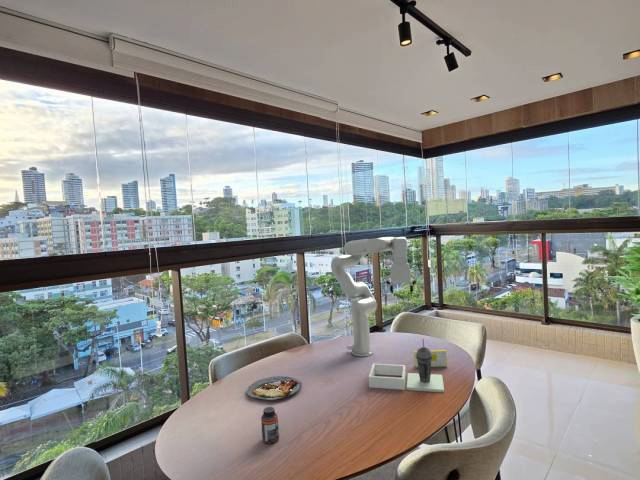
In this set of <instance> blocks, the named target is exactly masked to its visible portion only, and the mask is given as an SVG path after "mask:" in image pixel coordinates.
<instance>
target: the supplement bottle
mask: <svg viewBox="0 0 640 480" xmlns="http://www.w3.org/2000/svg"><path fill="white" fill-rule="evenodd" d="M260 421H261V422H260V423H261V435H262V436H261V438H262V442H263V443H264V444H267V445H271V444H275V443H277V442H278V441H279V439H280V430H279V416H278V414H277V412H276V410H275V407H274V406H267V407H265V408H263V413H262V415H261V417H260Z"/></svg>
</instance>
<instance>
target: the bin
mask: <svg viewBox="0 0 640 480" xmlns="http://www.w3.org/2000/svg"><path fill="white" fill-rule="evenodd" d="M406 368H407V367H406V364H405V365H404V364H391V363H390V364H389V363H388V364H387V363H372V365H371V368H370V371H369V374H368V387H369V388H373V389H389V390H403V391H404V390H405V388H406V381H407V380H406V377H407V370H406ZM379 375H380V376H379ZM384 375H386V376H384ZM394 376H399V377H394ZM400 376H401V377H400Z"/></svg>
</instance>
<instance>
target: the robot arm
mask: <svg viewBox="0 0 640 480" xmlns="http://www.w3.org/2000/svg"><path fill="white" fill-rule="evenodd" d="M343 250H344V252H345V254H342V255H341V254H340V255H337V256H335V257H333V258H332V260H331V261H330V268H331V272H332V274H333V276H334V278H336V279H335V280H336V281H337V282H338V284H339V286H340V288H341V290H342V292H343V294H344V295H345V297H346V299H348V300H354V301H352V302H351V304H350V307H349V308H350V313H351V318H352V320H351V321H352V330H353V332H352V335H353V336H352V337H353V344H347V345H346V349H347V350H351V354H352V355H353V356H356V357H368V356H372V355H373V354H374V350H373V349H372V348H371V333H370V321H369V319H368V317H367V315H370V314H372V313H374V312H376V311H377V310H378V309H377V308H378V304H377V301H376V299H375V297H374V294H373V293H372V291H371V290H370V288H369V286H368V285H367V284H366V283H365V282H364V281H355V280H354V278H353V277H352V275H351V274H350V273H349V272H348V271H347V270H346V269H350V268H351V269H352V268H354V267H357V265H358V264H359V263H360V261H361V260H362V258H363V257H364V255H369V254H374V253H383V252H390V251H392V258H390V259H389V262H391V266H390V274H388V275H386V276H385V277H384V278H383V279H384V280H385V283H387V284H388V286H389V292H390V293H391V295H392V294H394V285H393V284H409V293H410V294H412V293H414V285H415V284H416V283H417V282H418V279H419V277H418V276H416V275H414V274H412V273H411V267H410V266H411V265H410V262H408V243H407V237H404V236H398V237H396V236H395V237H394V236H385V237H378V238H377V237H376V238H363V239H357V240H355V239H354V240H350V241H347V242H346V243H345V244H344V247H343ZM389 278H390V281H389ZM412 278H413V279H414V280H413V281H412ZM387 284H386V285H387Z"/></svg>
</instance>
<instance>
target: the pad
mask: <svg viewBox="0 0 640 480" xmlns="http://www.w3.org/2000/svg"><path fill="white" fill-rule="evenodd" d="M406 391H418V392H434V393H445V388H444V379H443V375H442V374H437V373H434V374H433V373H431V375H430V382H428V383H423V382H421V381H420V377H419V372H418V373H417V372H416V373H415V372H413V373H412V372H407V380H406Z"/></svg>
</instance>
